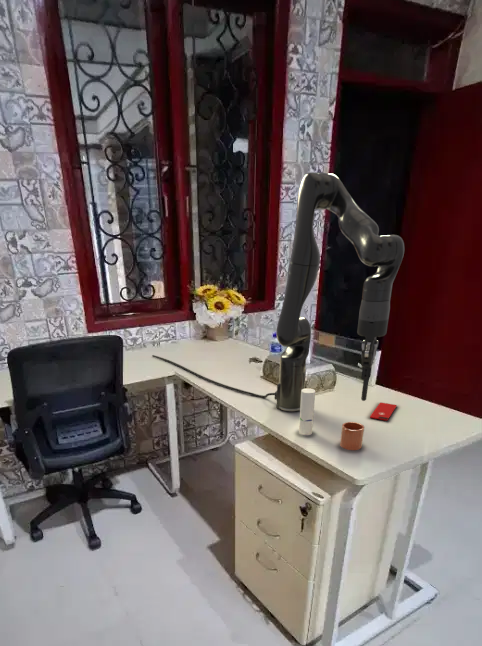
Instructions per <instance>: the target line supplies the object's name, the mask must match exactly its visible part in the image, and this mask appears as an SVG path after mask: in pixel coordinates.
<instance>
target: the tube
mask: <svg viewBox="0 0 482 646" xmlns="http://www.w3.org/2000/svg"><path fill="white" fill-rule="evenodd" d="M315 401H316V389H314V388H310V387H309V388H307V387H306V388H305V387H304V389H302V390H301V405H300V410H299V420H298V421H299V422H298V423H299V424H298V434H299V435H302V436H310V435H312V434H313V427H314V415H315V414H314V413H315Z"/></svg>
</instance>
